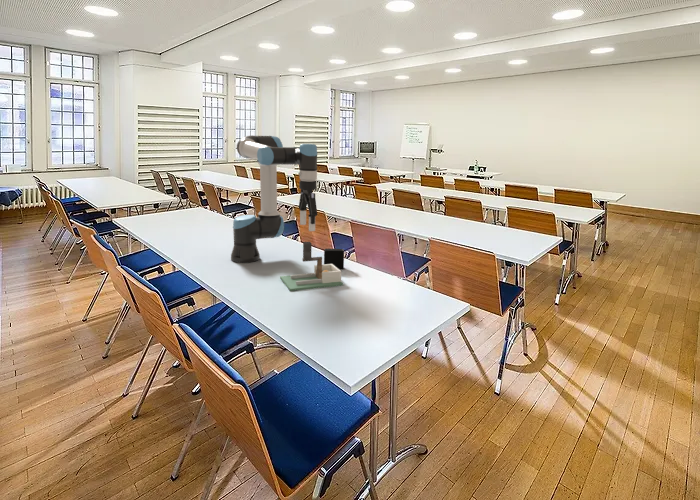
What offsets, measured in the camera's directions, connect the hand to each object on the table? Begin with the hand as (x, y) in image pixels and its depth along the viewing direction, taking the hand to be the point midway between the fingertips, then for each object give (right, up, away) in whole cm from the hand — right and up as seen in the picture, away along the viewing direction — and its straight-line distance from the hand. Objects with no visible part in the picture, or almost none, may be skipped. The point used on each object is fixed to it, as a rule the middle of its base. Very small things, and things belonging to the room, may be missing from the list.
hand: (307, 227), depth 197 cm
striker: (+2, -23, +7) cm, 24 cm away
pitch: (+1, -25, +7) cm, 26 cm away
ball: (+8, -22, +9) cm, 25 cm away
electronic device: (+11, -20, +29) cm, 37 cm away
